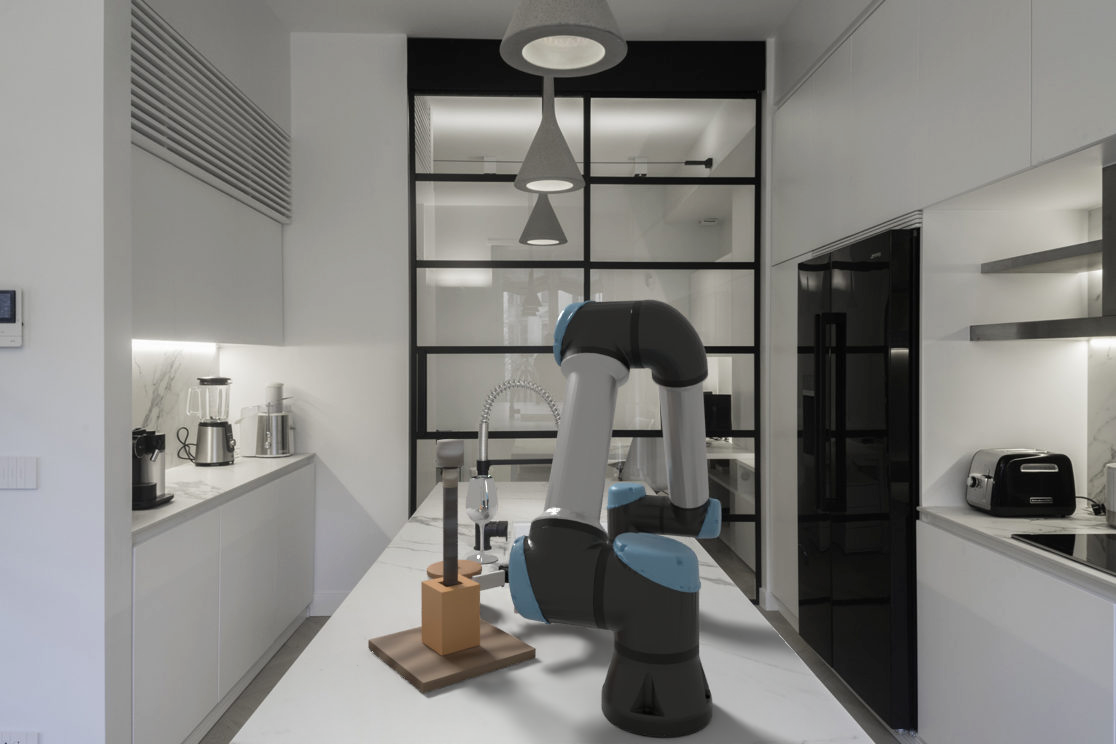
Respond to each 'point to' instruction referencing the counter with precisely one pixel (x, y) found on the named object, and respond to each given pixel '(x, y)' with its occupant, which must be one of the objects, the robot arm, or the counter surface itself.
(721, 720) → the counter surface
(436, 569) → the lidded jar
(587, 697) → the counter surface
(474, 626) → the sleeve
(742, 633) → the counter surface
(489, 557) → the wineglass
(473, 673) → the stand
